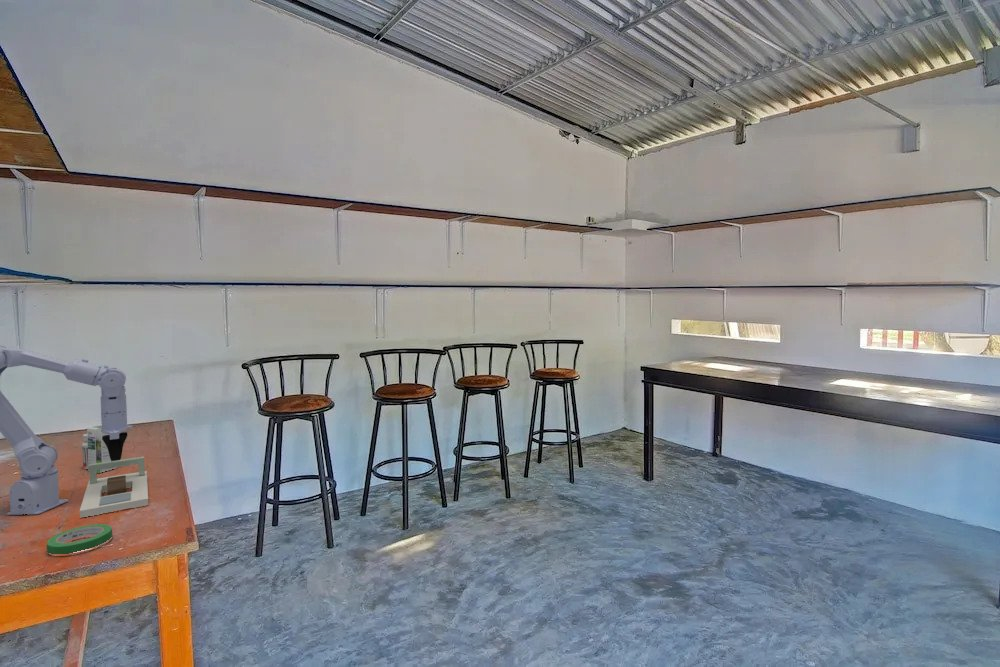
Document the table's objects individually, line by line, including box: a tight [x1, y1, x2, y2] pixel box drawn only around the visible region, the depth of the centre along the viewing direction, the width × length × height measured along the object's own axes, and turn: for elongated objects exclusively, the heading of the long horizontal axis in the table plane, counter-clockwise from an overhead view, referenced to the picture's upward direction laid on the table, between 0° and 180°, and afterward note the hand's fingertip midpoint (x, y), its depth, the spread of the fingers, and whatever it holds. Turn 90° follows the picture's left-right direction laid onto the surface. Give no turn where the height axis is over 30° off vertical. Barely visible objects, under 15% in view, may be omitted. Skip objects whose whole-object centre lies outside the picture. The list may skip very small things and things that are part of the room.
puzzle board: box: [79, 470, 149, 519], centre depth 143 cm, size 30×14×2 cm, turn 35°
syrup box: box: [86, 424, 118, 474], centre depth 167 cm, size 6×6×14 cm
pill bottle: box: [81, 433, 88, 470], centre depth 170 cm, size 6×6×11 cm
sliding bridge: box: [88, 456, 146, 483], centre depth 151 cm, size 2×13×5 cm, turn 125°
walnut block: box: [107, 474, 127, 496], centre depth 143 cm, size 4×4×5 cm
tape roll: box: [46, 523, 113, 554], centre depth 112 cm, size 11×11×3 cm
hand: (115, 460), depth 143 cm, fingers closed
